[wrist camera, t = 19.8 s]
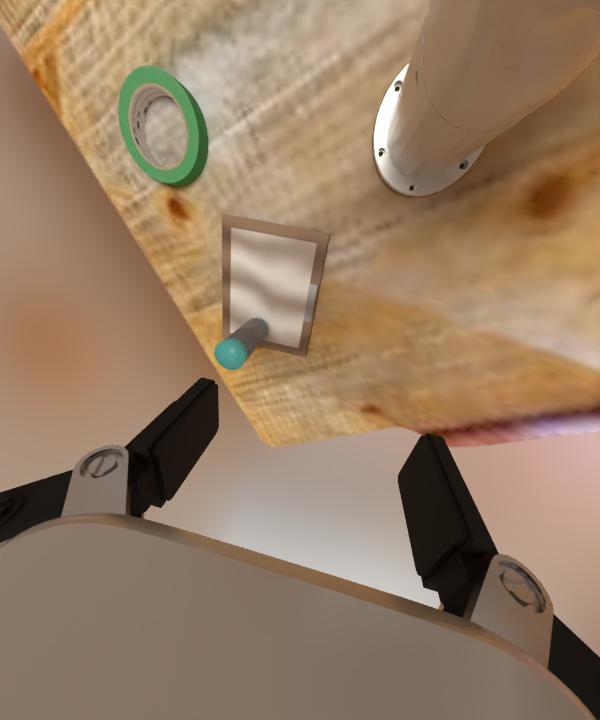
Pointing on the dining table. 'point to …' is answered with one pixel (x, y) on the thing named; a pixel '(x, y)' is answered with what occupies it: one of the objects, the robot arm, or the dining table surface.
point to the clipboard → (271, 279)
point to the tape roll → (132, 111)
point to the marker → (241, 344)
